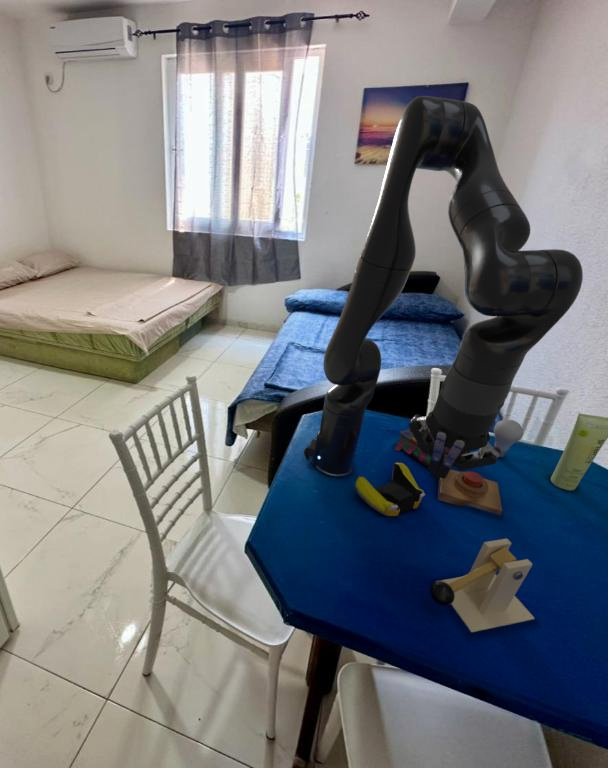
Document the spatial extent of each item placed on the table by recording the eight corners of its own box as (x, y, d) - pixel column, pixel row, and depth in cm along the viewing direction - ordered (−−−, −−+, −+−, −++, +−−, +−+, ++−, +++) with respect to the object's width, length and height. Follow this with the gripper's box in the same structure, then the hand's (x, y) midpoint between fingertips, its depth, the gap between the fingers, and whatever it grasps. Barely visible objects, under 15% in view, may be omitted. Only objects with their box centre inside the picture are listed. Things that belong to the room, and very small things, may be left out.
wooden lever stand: (469, 636, 65) (497, 584, 59) (433, 585, 72) (454, 535, 66) (532, 622, 67) (565, 571, 61) (490, 575, 75) (516, 525, 69)
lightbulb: (514, 465, 103) (531, 429, 98) (488, 461, 104) (504, 426, 99) (505, 450, 108) (520, 416, 103) (480, 447, 109) (494, 413, 104)
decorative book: (469, 455, 106) (476, 440, 104) (426, 472, 100) (432, 456, 97) (433, 432, 115) (438, 417, 113) (391, 446, 109) (395, 431, 106)
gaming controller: (348, 494, 92) (381, 526, 84) (352, 476, 89) (386, 506, 82) (395, 476, 98) (430, 503, 90) (401, 458, 95) (437, 485, 88)
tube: (565, 494, 94) (605, 424, 85) (543, 480, 98) (579, 412, 89) (580, 488, 96) (621, 419, 87) (557, 474, 100) (594, 407, 91)
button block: (437, 499, 91) (442, 486, 90) (438, 473, 99) (442, 460, 98) (498, 518, 87) (505, 504, 85) (494, 489, 95) (500, 476, 93)
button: (463, 485, 91) (465, 479, 90) (462, 475, 94) (464, 469, 93) (481, 490, 89) (483, 484, 89) (480, 480, 92) (482, 474, 91)
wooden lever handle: (441, 614, 65) (436, 604, 63) (427, 593, 68) (422, 583, 66) (522, 571, 64) (519, 560, 62) (504, 552, 67) (501, 541, 65)
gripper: (533, 400, 54) (487, 480, 65) (432, 364, 61) (405, 442, 72) (519, 432, 50) (472, 512, 61) (412, 390, 57) (387, 468, 68)
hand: (436, 474), depth 66 cm, fingers closed
